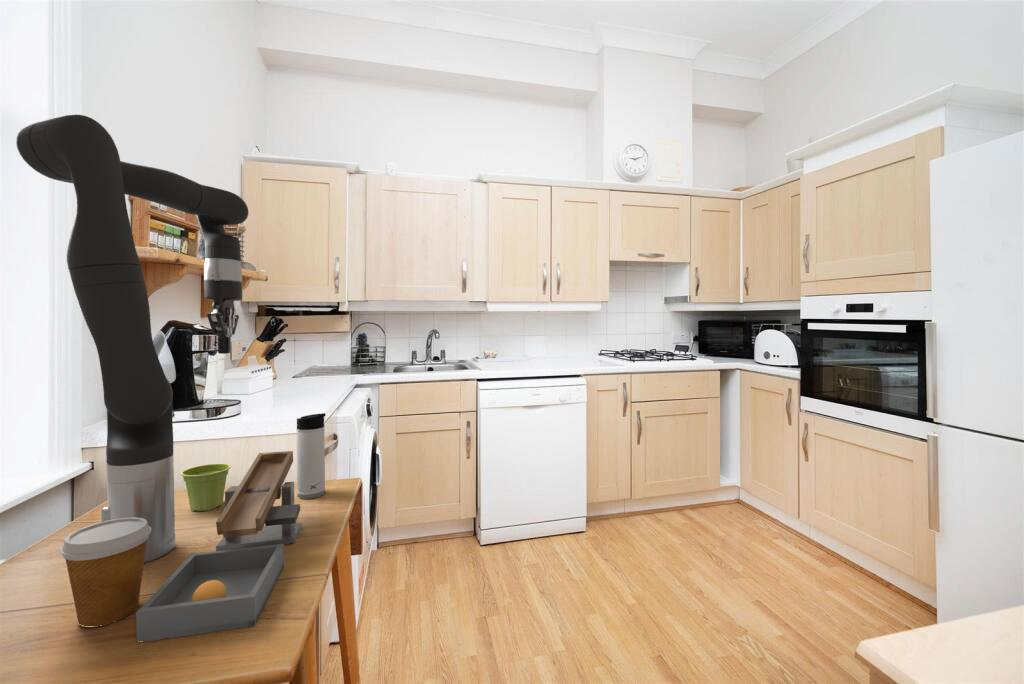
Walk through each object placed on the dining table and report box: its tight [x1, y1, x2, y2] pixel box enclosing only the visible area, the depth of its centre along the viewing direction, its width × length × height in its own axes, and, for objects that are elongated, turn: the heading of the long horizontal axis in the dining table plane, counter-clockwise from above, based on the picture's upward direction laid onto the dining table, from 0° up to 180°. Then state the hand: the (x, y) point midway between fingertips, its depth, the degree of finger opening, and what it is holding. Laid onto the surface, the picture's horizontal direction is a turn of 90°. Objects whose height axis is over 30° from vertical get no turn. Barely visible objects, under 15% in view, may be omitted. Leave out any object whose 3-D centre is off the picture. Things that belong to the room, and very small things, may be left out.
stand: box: [215, 481, 303, 551], centre depth 86 cm, size 13×7×10 cm, turn 104°
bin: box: [135, 544, 285, 643], centre depth 66 cm, size 14×16×4 cm
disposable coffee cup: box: [59, 517, 151, 626], centre depth 63 cm, size 10×10×12 cm
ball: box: [192, 580, 226, 602], centre depth 62 cm, size 4×4×4 cm
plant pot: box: [180, 463, 232, 512], centre depth 102 cm, size 9×9×9 cm
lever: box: [215, 450, 301, 539], centre depth 86 cm, size 11×24×5 cm, turn 14°
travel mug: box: [296, 413, 326, 500], centre depth 109 cm, size 6×7×20 cm
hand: (224, 353), depth 105 cm, fingers closed
